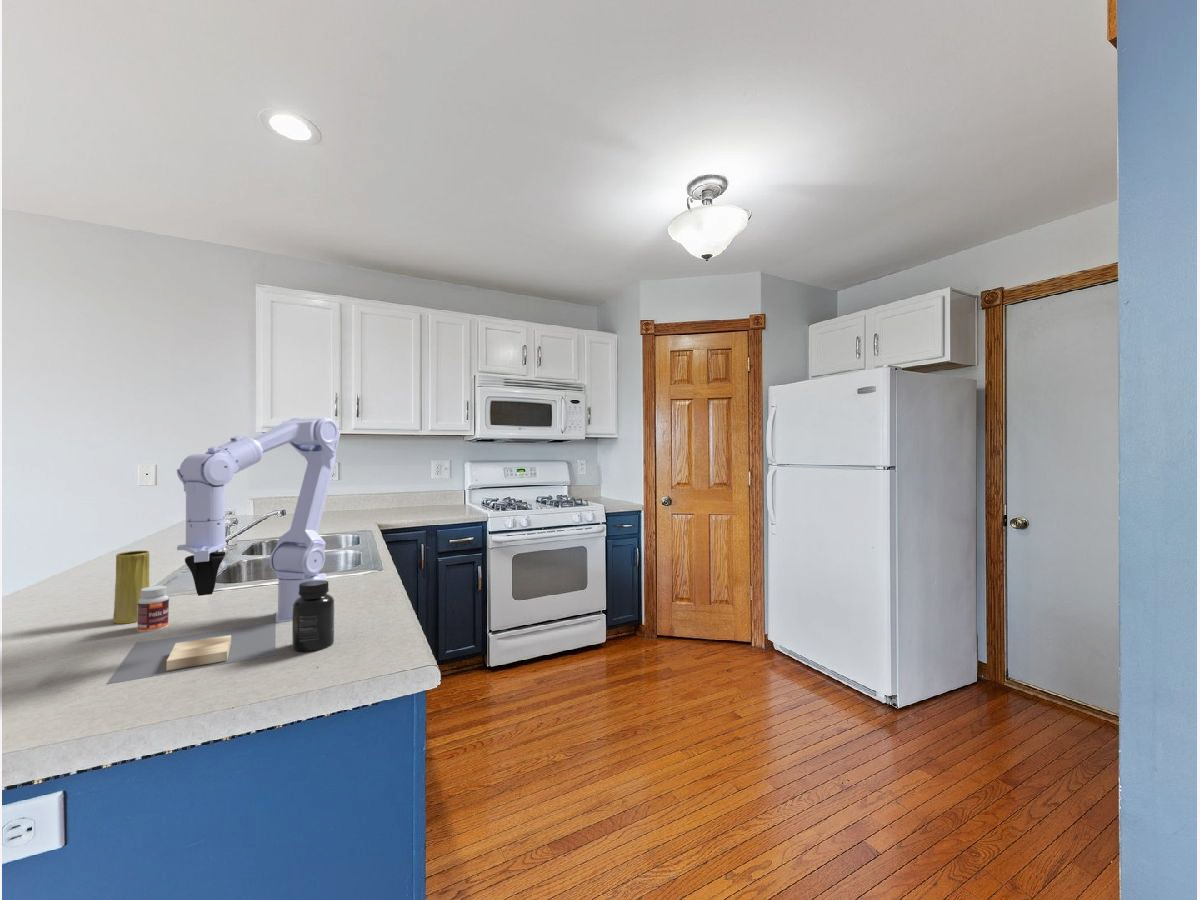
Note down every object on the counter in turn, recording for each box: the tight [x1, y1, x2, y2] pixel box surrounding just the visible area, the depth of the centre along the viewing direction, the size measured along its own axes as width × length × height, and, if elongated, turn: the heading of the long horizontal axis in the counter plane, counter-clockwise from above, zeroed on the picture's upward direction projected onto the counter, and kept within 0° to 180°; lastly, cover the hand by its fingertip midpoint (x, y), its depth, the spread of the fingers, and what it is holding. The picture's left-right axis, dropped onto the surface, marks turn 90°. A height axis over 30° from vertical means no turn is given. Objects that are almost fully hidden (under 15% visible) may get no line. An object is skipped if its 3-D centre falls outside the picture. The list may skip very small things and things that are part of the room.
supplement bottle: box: [291, 580, 335, 653], centre depth 96 cm, size 7×7×12 cm
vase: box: [111, 550, 150, 625], centre depth 110 cm, size 6×6×14 cm
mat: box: [106, 622, 277, 685], centre depth 93 cm, size 22×20×1 cm
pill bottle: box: [137, 585, 170, 633], centre depth 104 cm, size 5×5×8 cm
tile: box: [166, 635, 231, 671], centre depth 90 cm, size 8×2×9 cm
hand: (205, 594), depth 94 cm, fingers closed
